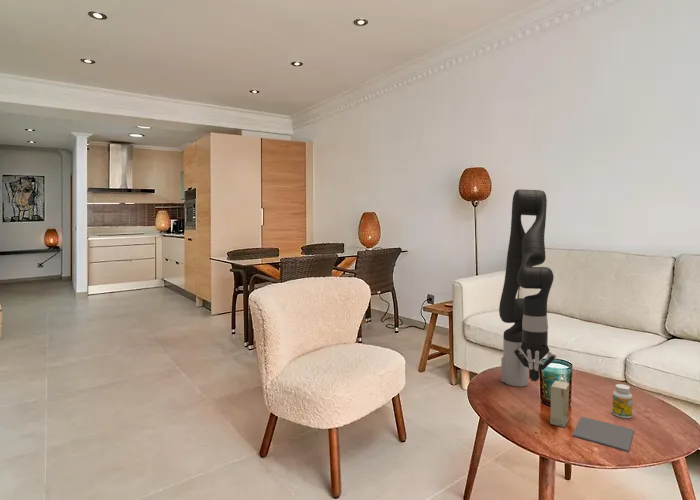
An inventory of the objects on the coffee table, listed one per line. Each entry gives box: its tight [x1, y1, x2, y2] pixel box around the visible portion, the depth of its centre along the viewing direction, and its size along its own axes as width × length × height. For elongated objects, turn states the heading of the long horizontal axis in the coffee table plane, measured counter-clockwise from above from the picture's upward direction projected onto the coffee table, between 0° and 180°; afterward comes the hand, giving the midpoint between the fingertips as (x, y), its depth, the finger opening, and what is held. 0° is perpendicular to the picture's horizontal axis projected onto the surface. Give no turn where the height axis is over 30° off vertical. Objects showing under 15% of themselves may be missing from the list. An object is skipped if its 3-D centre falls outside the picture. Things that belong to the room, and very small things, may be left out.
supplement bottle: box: [612, 383, 633, 419], centre depth 136 cm, size 5×5×10 cm
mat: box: [571, 416, 635, 453], centre depth 125 cm, size 14×14×1 cm
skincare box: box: [549, 380, 570, 428], centre depth 132 cm, size 6×4×12 cm
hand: (534, 380), depth 136 cm, fingers closed
